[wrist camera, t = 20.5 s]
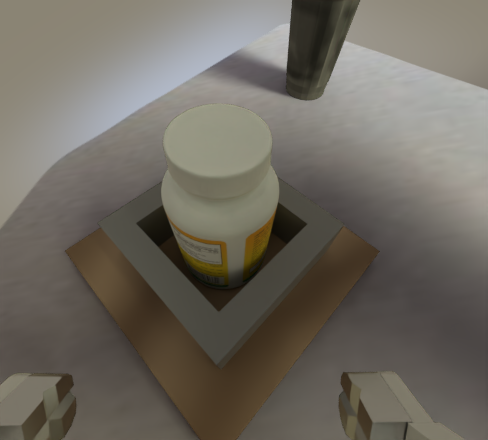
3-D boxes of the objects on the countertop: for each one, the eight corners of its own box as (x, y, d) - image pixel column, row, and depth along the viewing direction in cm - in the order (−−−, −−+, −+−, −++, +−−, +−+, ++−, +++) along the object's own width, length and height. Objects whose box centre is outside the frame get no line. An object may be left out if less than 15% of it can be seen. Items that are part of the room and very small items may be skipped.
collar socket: (370, 260, 19) (408, 224, 15) (219, 456, 13) (211, 489, 9) (228, 156, 24) (227, 109, 20) (76, 260, 18) (29, 222, 14)
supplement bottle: (192, 301, 16) (144, 209, 7) (180, 227, 18) (135, 102, 10) (276, 279, 16) (315, 175, 8) (252, 212, 19) (264, 85, 11)
